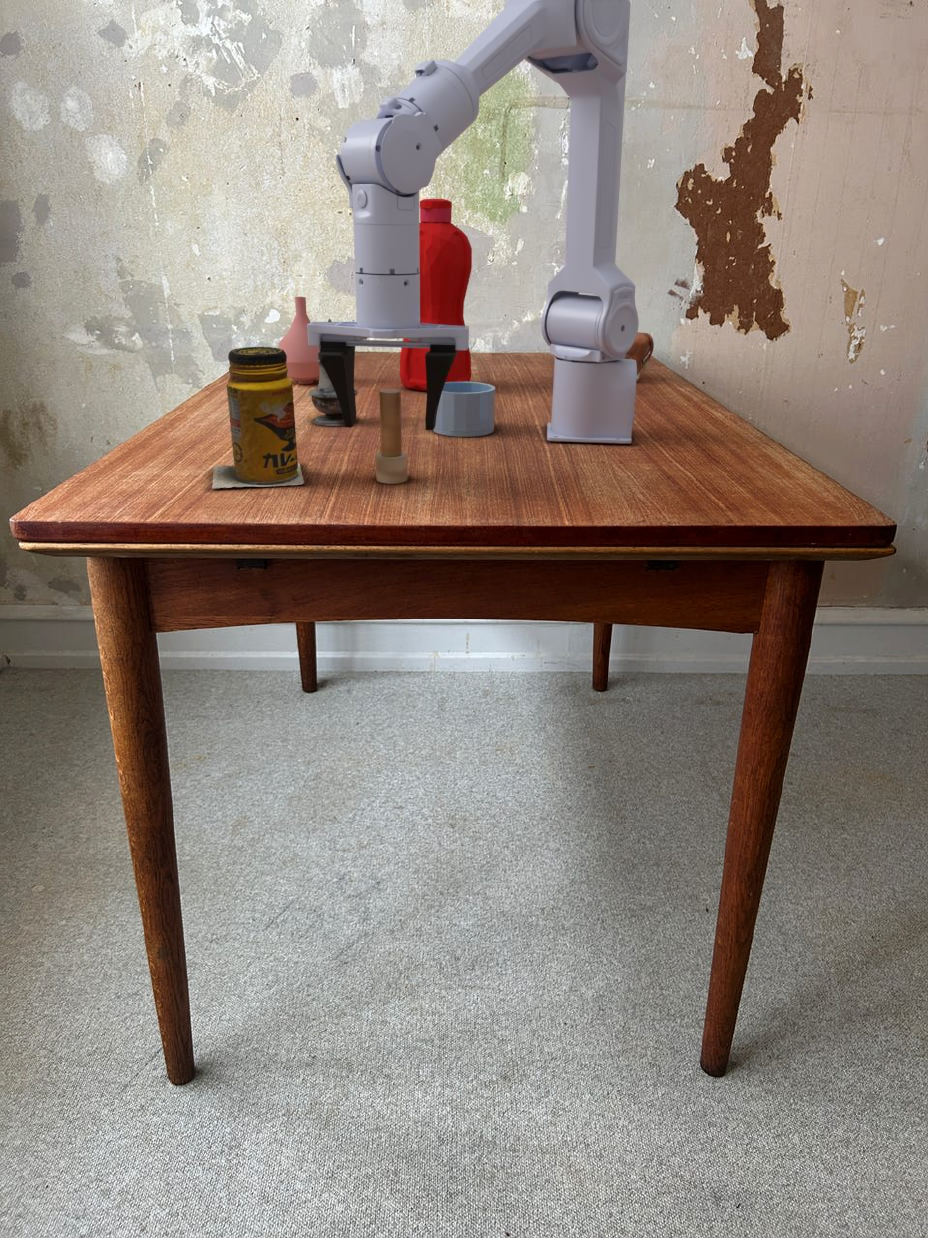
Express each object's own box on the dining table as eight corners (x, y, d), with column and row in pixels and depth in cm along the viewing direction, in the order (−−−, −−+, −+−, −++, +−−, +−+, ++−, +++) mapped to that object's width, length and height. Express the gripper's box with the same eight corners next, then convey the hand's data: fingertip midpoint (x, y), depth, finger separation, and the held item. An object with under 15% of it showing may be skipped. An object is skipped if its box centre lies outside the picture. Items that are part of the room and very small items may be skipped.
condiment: (304, 485, 84) (296, 354, 79) (212, 490, 82) (197, 356, 77) (299, 465, 91) (291, 343, 86) (214, 469, 89) (200, 344, 84)
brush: (409, 475, 88) (408, 388, 84) (404, 484, 85) (403, 394, 81) (379, 474, 88) (376, 387, 84) (373, 483, 85) (371, 393, 82)
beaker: (495, 423, 109) (496, 382, 107) (492, 438, 102) (493, 394, 100) (435, 421, 110) (435, 380, 107) (428, 435, 103) (428, 392, 101)
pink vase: (305, 375, 137) (300, 293, 132) (342, 381, 133) (338, 296, 128) (268, 382, 131) (261, 297, 126) (305, 389, 127) (299, 300, 122)
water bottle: (484, 384, 133) (489, 199, 122) (444, 395, 124) (445, 198, 114) (433, 377, 137) (433, 198, 127) (391, 388, 129) (387, 197, 118)
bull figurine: (588, 369, 146) (592, 317, 143) (655, 381, 137) (661, 325, 134) (571, 372, 143) (574, 319, 140) (638, 384, 135) (643, 328, 131)
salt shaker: (350, 428, 106) (345, 322, 101) (303, 425, 107) (296, 320, 102) (364, 417, 111) (361, 316, 106) (320, 415, 112) (314, 315, 107)
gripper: (295, 273, 75) (304, 433, 81) (465, 277, 74) (462, 439, 80) (315, 268, 82) (322, 416, 88) (471, 272, 81) (469, 421, 86)
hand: (390, 426), depth 84 cm, fingers open, 7 cm apart
